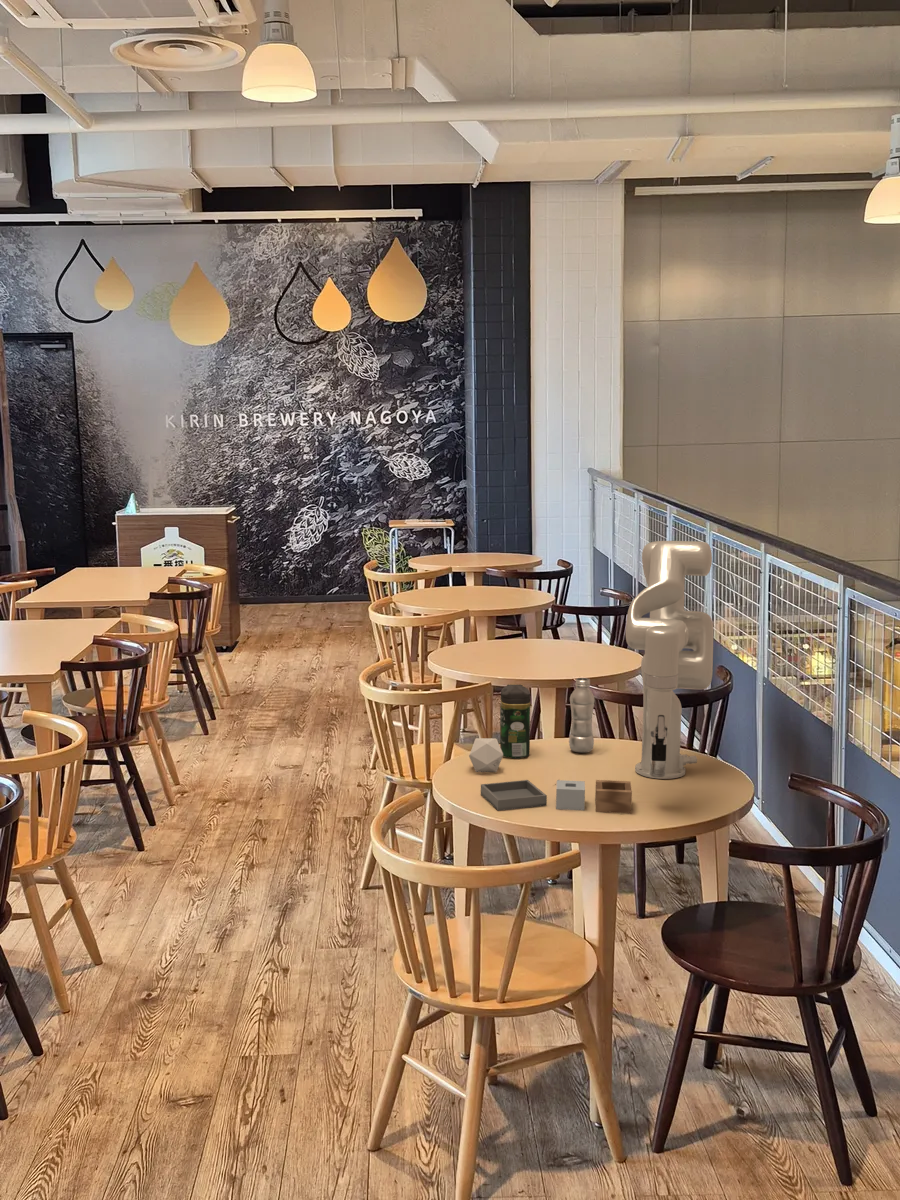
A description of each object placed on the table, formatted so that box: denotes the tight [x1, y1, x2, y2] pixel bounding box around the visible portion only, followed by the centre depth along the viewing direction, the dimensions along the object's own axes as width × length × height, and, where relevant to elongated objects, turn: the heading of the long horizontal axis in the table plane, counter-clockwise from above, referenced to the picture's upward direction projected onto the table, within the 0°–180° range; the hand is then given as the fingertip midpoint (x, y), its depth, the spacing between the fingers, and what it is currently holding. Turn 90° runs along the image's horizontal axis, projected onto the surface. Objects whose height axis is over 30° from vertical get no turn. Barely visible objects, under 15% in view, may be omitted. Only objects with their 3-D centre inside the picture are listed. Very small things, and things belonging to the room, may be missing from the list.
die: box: [468, 737, 504, 773], centre depth 294 cm, size 8×9×10 cm
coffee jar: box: [499, 684, 531, 760], centre depth 307 cm, size 10×8×19 cm
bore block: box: [594, 779, 633, 814], centre depth 268 cm, size 8×8×5 cm
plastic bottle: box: [568, 677, 595, 754], centre depth 310 cm, size 6×7×20 cm
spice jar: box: [650, 729, 667, 777], centre depth 266 cm, size 4×4×11 cm
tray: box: [480, 779, 548, 812], centre depth 272 cm, size 12×12×2 cm
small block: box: [555, 779, 586, 811], centre depth 269 cm, size 6×6×5 cm
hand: (658, 756), depth 266 cm, fingers closed on spice jar, 3 cm apart
